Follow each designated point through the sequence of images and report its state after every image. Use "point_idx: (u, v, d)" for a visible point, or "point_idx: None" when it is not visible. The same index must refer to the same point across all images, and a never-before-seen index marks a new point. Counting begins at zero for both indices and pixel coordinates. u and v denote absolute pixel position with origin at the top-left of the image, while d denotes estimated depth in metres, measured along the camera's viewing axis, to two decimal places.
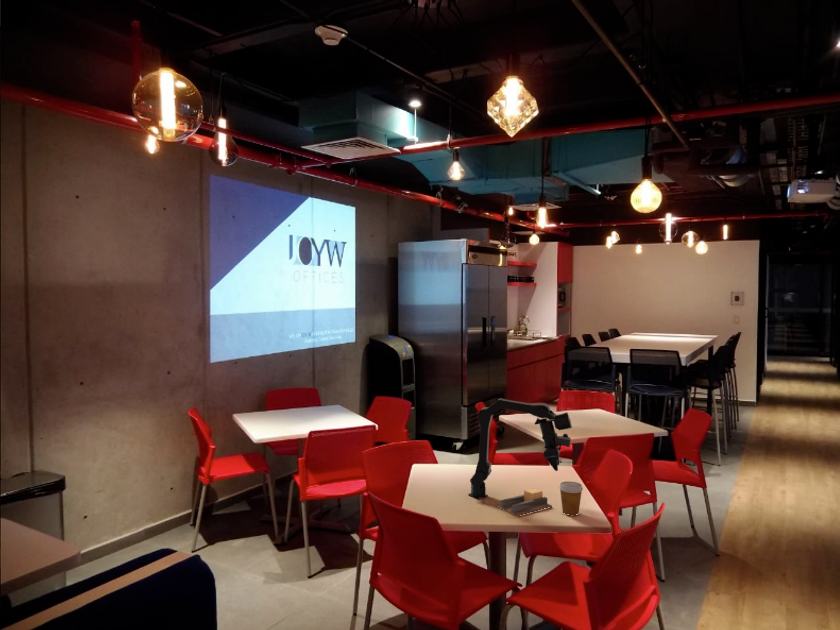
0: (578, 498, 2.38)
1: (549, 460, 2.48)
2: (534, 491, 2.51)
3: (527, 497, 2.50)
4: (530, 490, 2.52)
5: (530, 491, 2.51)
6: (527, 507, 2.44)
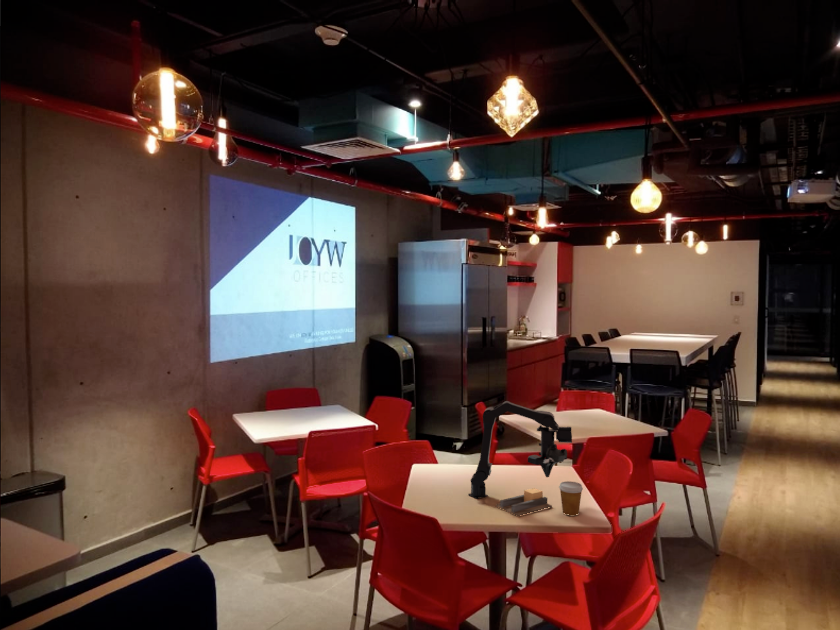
0: (578, 498, 2.38)
1: (541, 465, 2.56)
2: (534, 491, 2.51)
3: (527, 497, 2.50)
4: (530, 490, 2.52)
5: (530, 491, 2.51)
6: (527, 507, 2.44)
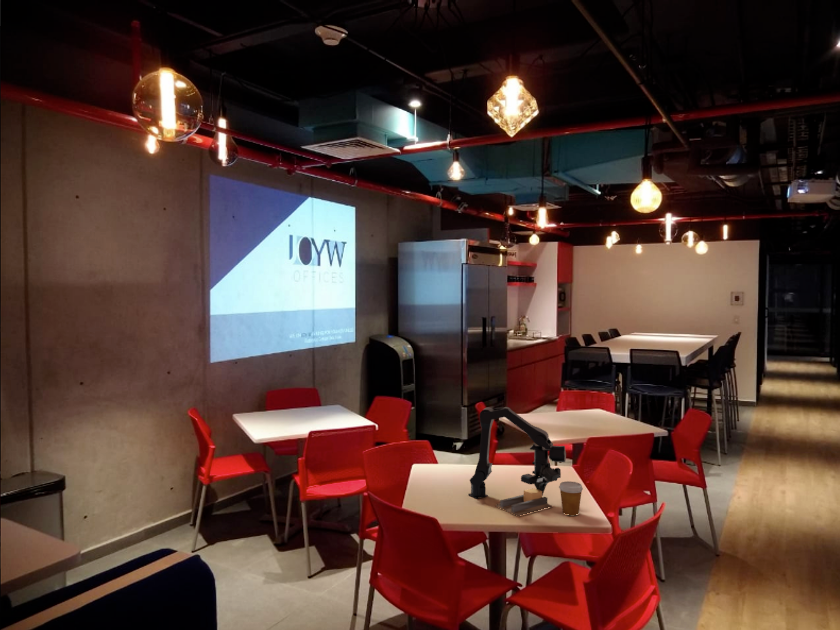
0: (578, 498, 2.38)
1: (535, 483, 2.54)
2: (534, 491, 2.51)
3: (527, 497, 2.50)
4: (530, 490, 2.52)
5: (529, 491, 2.51)
6: (527, 507, 2.44)
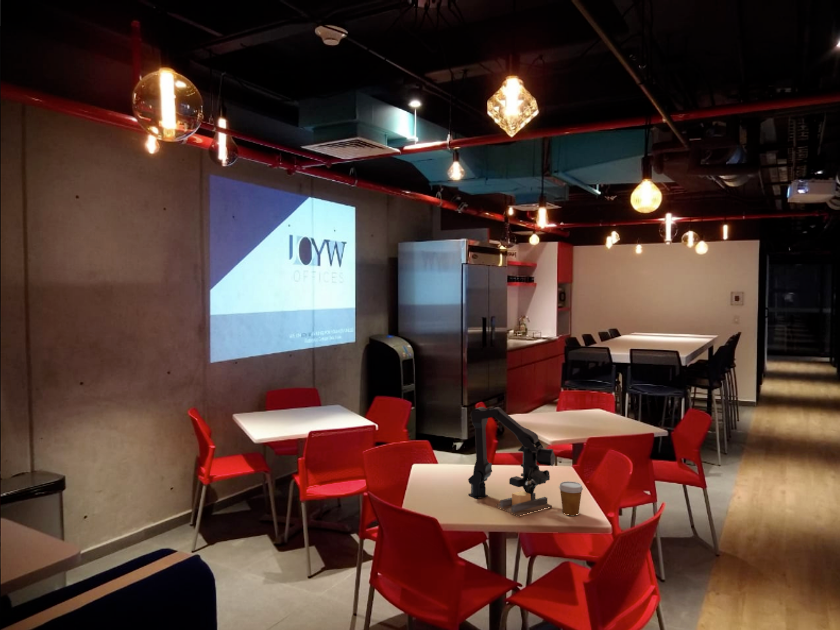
0: (578, 498, 2.38)
1: (523, 486, 2.51)
2: (522, 493, 2.47)
3: (515, 500, 2.46)
4: (518, 493, 2.48)
5: (517, 493, 2.47)
6: (527, 507, 2.44)
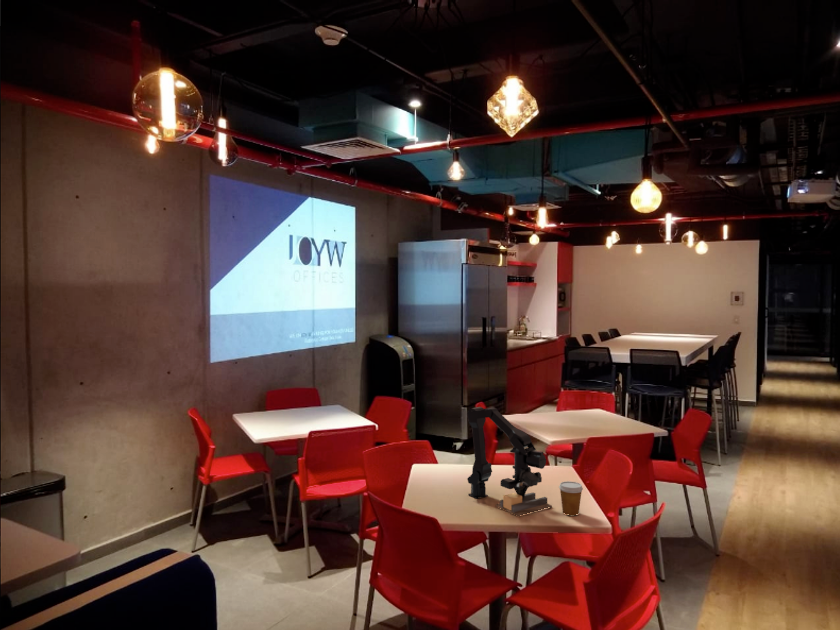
0: (578, 498, 2.38)
1: (515, 488, 2.48)
2: (513, 496, 2.45)
3: (507, 502, 2.44)
4: (509, 495, 2.45)
5: (509, 495, 2.45)
6: (527, 507, 2.44)
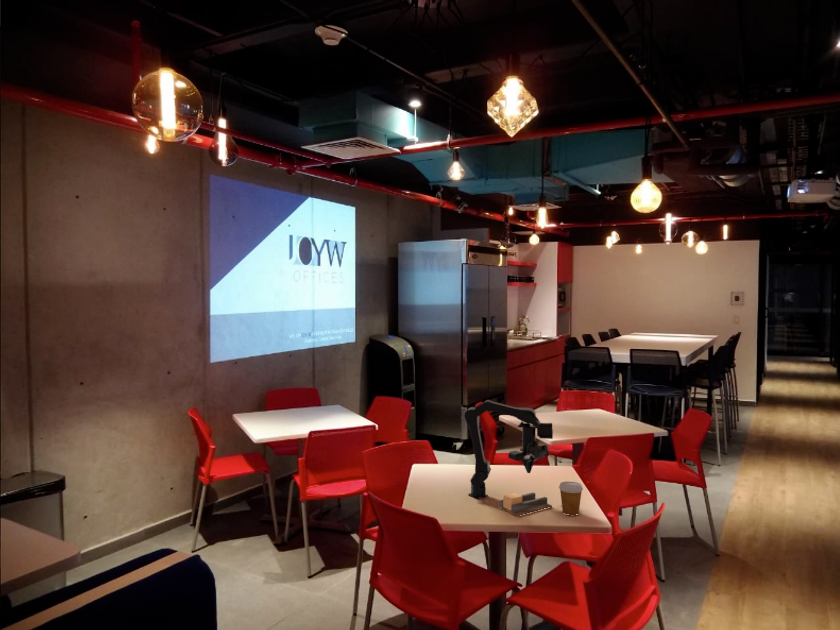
0: (578, 498, 2.38)
1: (522, 460, 2.58)
2: (513, 496, 2.45)
3: (507, 502, 2.43)
4: (509, 495, 2.45)
5: (509, 495, 2.45)
6: (527, 507, 2.44)
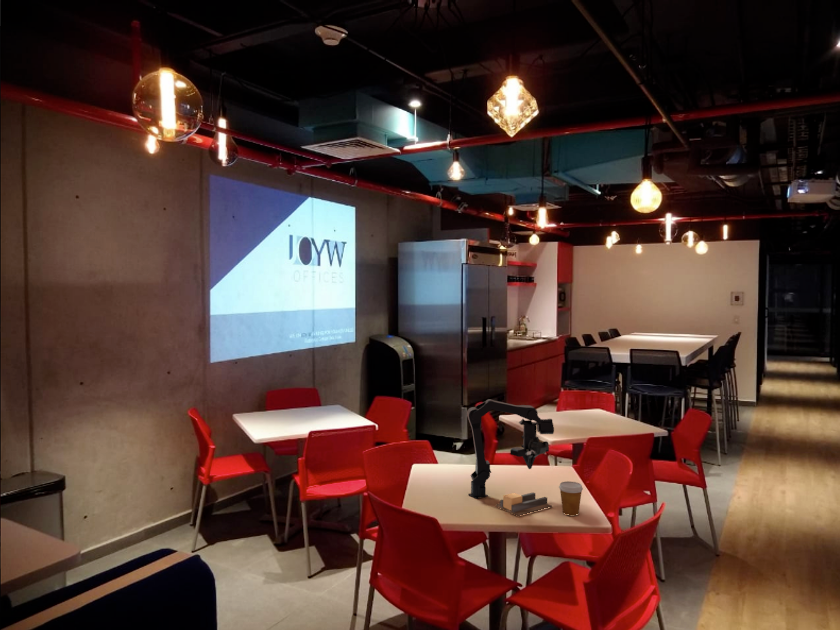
0: (578, 498, 2.38)
1: (524, 457, 2.64)
2: (513, 496, 2.45)
3: (507, 502, 2.43)
4: (509, 495, 2.45)
5: (509, 495, 2.45)
6: (527, 507, 2.44)
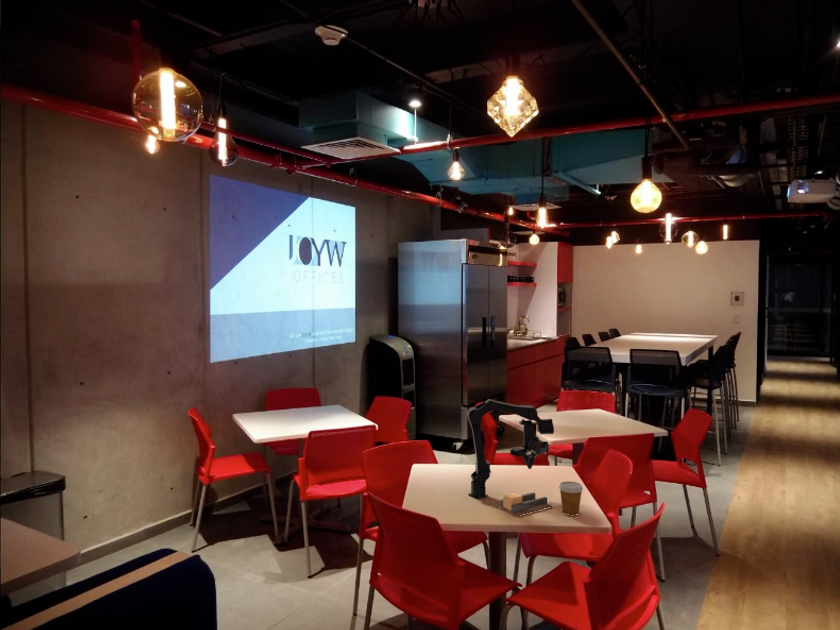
0: (578, 498, 2.38)
1: (524, 457, 2.64)
2: (513, 496, 2.45)
3: (507, 502, 2.43)
4: (509, 495, 2.45)
5: (509, 495, 2.45)
6: (527, 507, 2.44)
